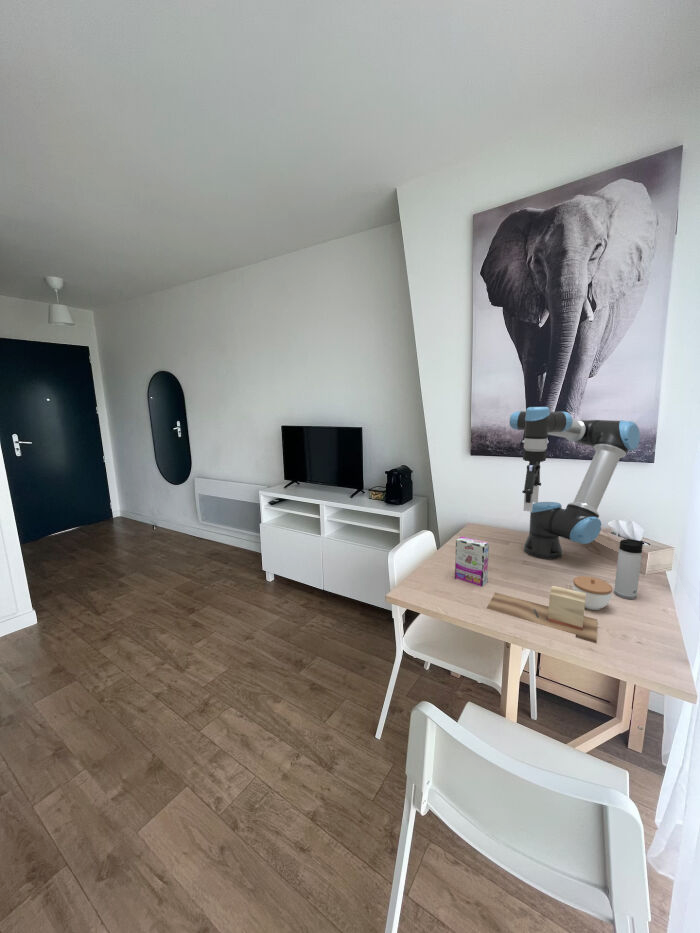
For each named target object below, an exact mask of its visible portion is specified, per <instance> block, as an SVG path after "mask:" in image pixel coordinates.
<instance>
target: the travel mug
mask: <svg viewBox="0 0 700 933" xmlns="http://www.w3.org/2000/svg"><path fill="white" fill-rule="evenodd" d="M643 545H645V542H644V541H643V540H637V539H630V538H629V539H628V538H626V539H621V540H620V542H619V546H618V547H619V548H618V553H617V554H618V556H617V562H616V563H617V564H616V572H615V580H614V590H613V592H614V594H615V595H616V596H617V597H620V598H622V599H626V600H635V599H637V597H638V596H637V595H638V589H639V588H638V587H639V581H640V580H639V579H640V572H641V571H640V570H641V564H642V557H643V547H644V546H643Z"/></svg>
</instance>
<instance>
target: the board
mask: <svg viewBox="0 0 700 933" xmlns="http://www.w3.org/2000/svg"><path fill="white" fill-rule="evenodd" d="M486 609H487V610H490V611H493V612H497V613H500V614H503V615H504V614H505V615H508V616H512V617H514V618H518V619H521V620H525V621H528V622H532V623H536V624H539V625H542V626H546V627H548V628H552V629H555V630H560V631H562V632H566V633H569V634H573V635H575V638H577V639H580V640H585V641H588V642H591V643H595V644H597V642H598V640H597V637H598V619H597V618H593V617H590V616H586V615H584V619H583V629H582V630H578V629H575V628H571V627H568V626H564V625H561V624H557V623H554V622H550V621H548V611H549V605H544V604H539V603H537V602H533V601H528V600H525V599H521V598H517V597H514V596H510V595H507V594H502V593H498V592H494V594H493V596H492V598H491V599H490V601H489V603H488V605H487V606H486Z"/></svg>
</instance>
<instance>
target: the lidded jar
mask: <svg viewBox="0 0 700 933" xmlns="http://www.w3.org/2000/svg"><path fill="white" fill-rule="evenodd" d="M572 580H573V581H572V583H573V584H572V585H573V586H572V587H573V588H572V589H573V591H578V592H582V593H586V598H585V609H587V610H591V611H599V610H602V608H605V607H606V606H608V604H609V602H610V601H611V597H612V592H613V587H612V585H611V584H610V583H608V582H607V581H605V580H603V579H600V578H597V577H593V576H586V575H585V576H584V575H581V576H580V575H579V576H576V577H574V578H573V579H572Z"/></svg>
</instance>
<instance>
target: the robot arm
mask: <svg viewBox="0 0 700 933" xmlns="http://www.w3.org/2000/svg"><path fill="white" fill-rule="evenodd" d="M509 426H510V428H511V429H513V430H517V431H524V437H523V438H524V439H523V440H522V442H521V443H523V451H522V460H523V461H526V462H529V464H528V465H526V473H525V481H524V482H525V483H524V489H523V490H522V494H524V496H523V511H525V512H529V513H530V518H529V534H528V536H527V538H526V540H525V542H524V544H523V551H524V552H525V553H526V554H527V555H530V557H535V558H537V559H543V560H558V559H561V557H563V549H562V545H561V542H560V538H562V539H565V540H566V539H567V540H570V541H572V542H574V543H578V544H582V545H583V544H584V545H585V544H586V545H587V544H590V543H592V542H593V541H595V540H596V539H597V538H598V536H599V535H600V532H601V530H602V521H601V520H600V514H599V512H598V508H599V507H600V504H601V503H602V499H603V497H604V495H605V494H606V493H605V492H606V490H607V488H608V486H609V484H610V482H611V479H612V476H613V475H614V472H615V470H616V468H617V465H618V463H619V462H620V459H622V458H624V457H626V456H627V454H628V452H629V451H635V450H636V449H637V448H638V447H639V445H640V440H641V432H640V429H639V426H638V424H636V423H635V422H634V421H629V420H622V419H621V420H608V419H607V420H605V419H603V420H602V419H589V420H588V419H586V420H583V419H582V420H581V419H573V417H572V415H571V414H570V413H569V412H566V411H561V410H560V411H550V408H549V407H548V406H529V407H527V408H526V410H525V411H522V410H521V411H520V410H519V411H514V412H512V414H511V415H510V417H509ZM549 435H550V436H553V437H554V436H555V437H558V438H559V437H560V438H565V439H566V440H567V441H569V442H574V443H578V444H580V445H581V444H582V445H586V446H588V447H589V446H590V447H593V449H594V451H595V453H594V454H593V457H592V460H591V462H590V464H589V465H588V466H589V467H588V469H587V470H586V473H585V475H584V477H583V480H582V482H581V484H580V487H579V489H578V491H577V494H576V495H575V497H574V499H573V502H570V503H568V504H567V505H566V507H565V508H562V507H563V506H562V504H561V503H560V502H557V501H556V502H555V501H539V491H540V487H541V486H542V482H541V477H540V476H541V463H542V462H545V461H546V460H547V451H546V450H547V448H548V436H549ZM559 537H560V538H559Z"/></svg>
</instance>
